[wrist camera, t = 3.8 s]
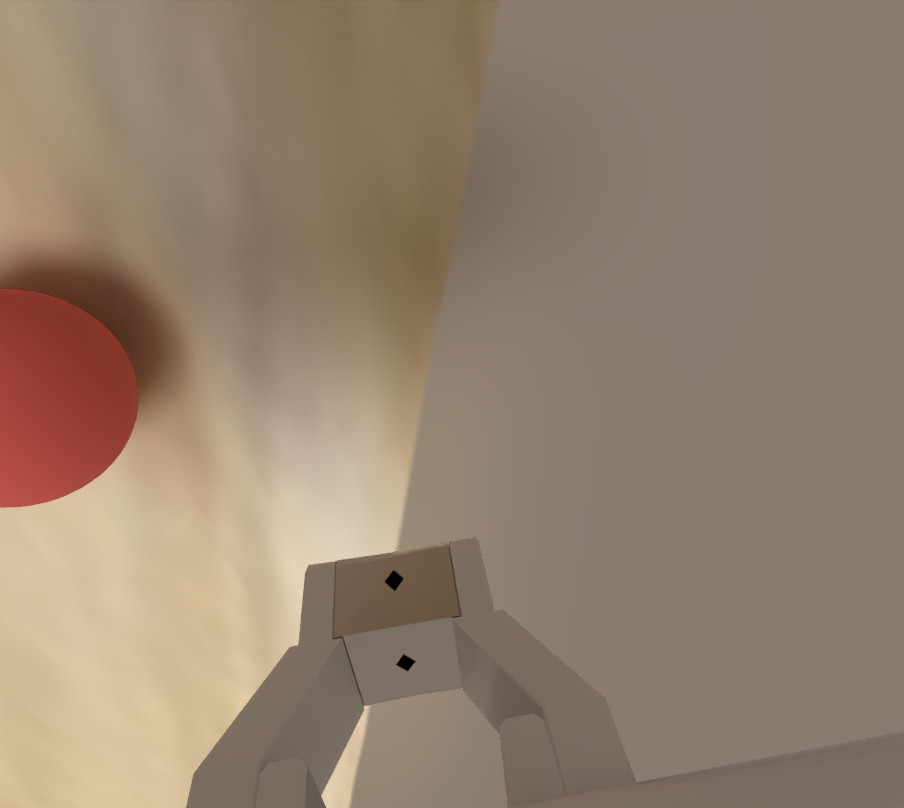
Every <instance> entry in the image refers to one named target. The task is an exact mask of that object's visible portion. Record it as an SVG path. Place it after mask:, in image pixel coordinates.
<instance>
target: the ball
mask: <svg viewBox="0 0 904 808" xmlns="http://www.w3.org/2000/svg"><path fill="white" fill-rule="evenodd" d="M137 409H138V387H137V381H136V376H135V372H134V370H133V367H132V364H131V362H130V360H129V358H128V356H127V354H126V352H125V350H124V348H123V347H122V346H121V344H120V343H119V341H118V340H117V338H116V337H115V336H114V335H113V334H112V333H111V332H110V331H109V330H108V329H107V328H106V327H105V326H104V325H103V324H102V323H101V322H100V321H98V320H97V319H96V318H94V317H93V316H92V315H90V314H89V313H87V312H86V311H84V310H82V309H80V308H79V307H77V306H75V305H73V304H71V303H69V302H67V301H64V300H62V299H59V298H56V297H53V296H51V295H47V294H43V293H39V292H33V291H26V290H19V289H0V507H22V506H31V505H35V504H40V503H44V502H48V501H52V500H55V499H58V498H61V497H63V496H66V495H68V494H70V493H72V492H74V491H76V490H78V489H80V488H82V487H84V486H85V485H87V484H88V483H90V482H91V481H93V480H94V479H95V478H97V477H98V476H100V475H101V474H102V473H103V472H104V471H105V470H106V469H107V468H108V467H109V466H110V465H111V464H112V463H113V462H114V461H115V460H116V458H117V457H118V456H119V454H120V453H121V452H122V450H123V448H124V447H125V445H126V443H127V442H128V440H129V438H130V436H131V433H132V430H133V427H134V424H135V421H136V417H137Z"/></svg>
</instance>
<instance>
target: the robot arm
mask: <svg viewBox="0 0 904 808" xmlns="http://www.w3.org/2000/svg"><path fill="white" fill-rule="evenodd" d="M459 688H463V691H464V692H465V693H466V695H467V696H468V697H469V698H470V699H471V701H472V702H473V703H474V704H475V705H476V707H477V708H478V709H479V710H480V711H481V713H482V714H483V715H484V716H485V718H486V719H487V720H488V721H489V722H490V724H491V725H492V726H493V727H494V728H495V730H496V731H497V732H498V733H499V734H500V740H501V750H502V760H503V769H504V778H505V788H506V798H507V807H506V808H904V730H903V731H898V732H893V733H888V734H883V735H878V736H872V737H867V738H862V739H857V740H852V741H847V742H842V743H836V744H832V745H826V746H821V747H816V748H811V749H806V750H800V751H796V752H791V753H785V754H780V755H775V756H769V757H764V758H759V759H754V760H749V761H744V762H739V763H733V764H728V765H723V766H718V767H713V768H708V769H703V770H697V771H692V772H687V773H682V774H677V775H671V776H667V777H661V778H656V779H651V780H646V781H641V782H636V781H635V778H634V775H633V773H632V770H631V767H630V764H629V761H628V759H627V756H626V753H625V750H624V748H623V745H622V742H621V739H620V736H619V734H618V731H617V728H616V725H615V723H614V720H613V717H612V715H611V712H610V709H609V706H608V704H607V701H606V698H605V697H604V696H602V695H601V694H600V693H599V692H598V691H597V690H595V689H594V688H593V687H592V686H591V685H589V684H588V683H587V682H586V681H585V680H584V679H583V678H582V677H580V676H579V675H578V674H577V673H576V672H575V671H574V670H572V669H571V668H570V667H569V666H568V665H566V664H565V663H564V662H563V661H562V660H561V659H560V658H558V657H557V656H556V655H555V654H554V653H553V652H552V651H550V650H549V649H548V648H547V647H546V646H545V645H543V644H542V643H541V642H540V641H539V640H538V639H536V638H535V637H534V636H533V635H532V634H530V632H528V631H527V630H526V629H525V628H524V627H523V626H521V625H520V624H519V623H518V622H517V621H516V620H515V619H513V618H512V617H511V616H510V615H509V614H508V613H506V612H505V611H504V610H497V611H495V610H494V607H493V602H492V598H491V593H490V589H489V585H488V581H487V576H486V572H485V568H484V563H483V559H482V554H481V550H480V546H479V541H478V540H477V539H476V537H474V538H468V539H463V540H457V541H451V542H449V545H448V542H445V543H440V544H435V545H429V546H423V547H418V548H413V549H406V550H401V551H395V552H393V553H386V554H379V555H372V556H365V557H358V558H351V559H344V560H337V561H334V562H327V563H320V564H313V565H308V567H307V570H306V572H305V580H304V591H303V602H302V613H301V624H300V634H299V645H298V646H293V647H289V649H288V650H287V651H286V653H285V654H284V655H283V657H282V658H281V659H280V661H279V662H278V663H277V665H276V666H275V667H274V668H273V670H272V671H271V672H270V674H269V675H268V676H267V678H266V679H265V680H264V682H263V683H262V684H261V686H260V687H259V688H258V690H257V691H256V692H255V694H254V695H253V696H252V697H251V699H250V700H249V701H248V703H247V704H246V705H245V707H244V708H243V709H242V711H241V712H240V713H239V715H238V716H237V717H236V719H235V720H234V721H233V722H232V724H231V725H230V726H229V728H228V729H227V730H226V732H225V733H224V734H223V736H222V737H221V738H220V740H219V741H218V742H217V744H216V745H215V746H214V748H213V749H212V750H211V751H210V753H209V754H208V755H207V757H206V758H205V759H204V761H203V762H202V763H201V765H200V766H199V767H198V769H197V770H196V771H195V773H194V775H193V779H192V784H191V788H190V793H189V798H188V802H187V807H186V808H326V806H325V804H324V802H323V800H322V797H321V795H322V793H323V791H324V789H325V787H326V785H327V783H328V781H329V779H330V777H331V775H332V773H333V771H334V769H335V767H336V765H337V763H338V761H339V759H340V757H341V755H342V753H343V751H344V749H345V747H346V745H347V743H348V741H349V739H350V737H351V735H352V733H353V731H354V729H355V727H356V725H357V723H358V721H359V719H360V717H361V715H362V713H363V711H364V707H363V706H366V705H371V704H376V703H380V702H385V701H389V700H395V699H400V698H404V697H409V696H413V695H421V694H427V693H434V692H440V691H446V690H453V689H459Z"/></svg>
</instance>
